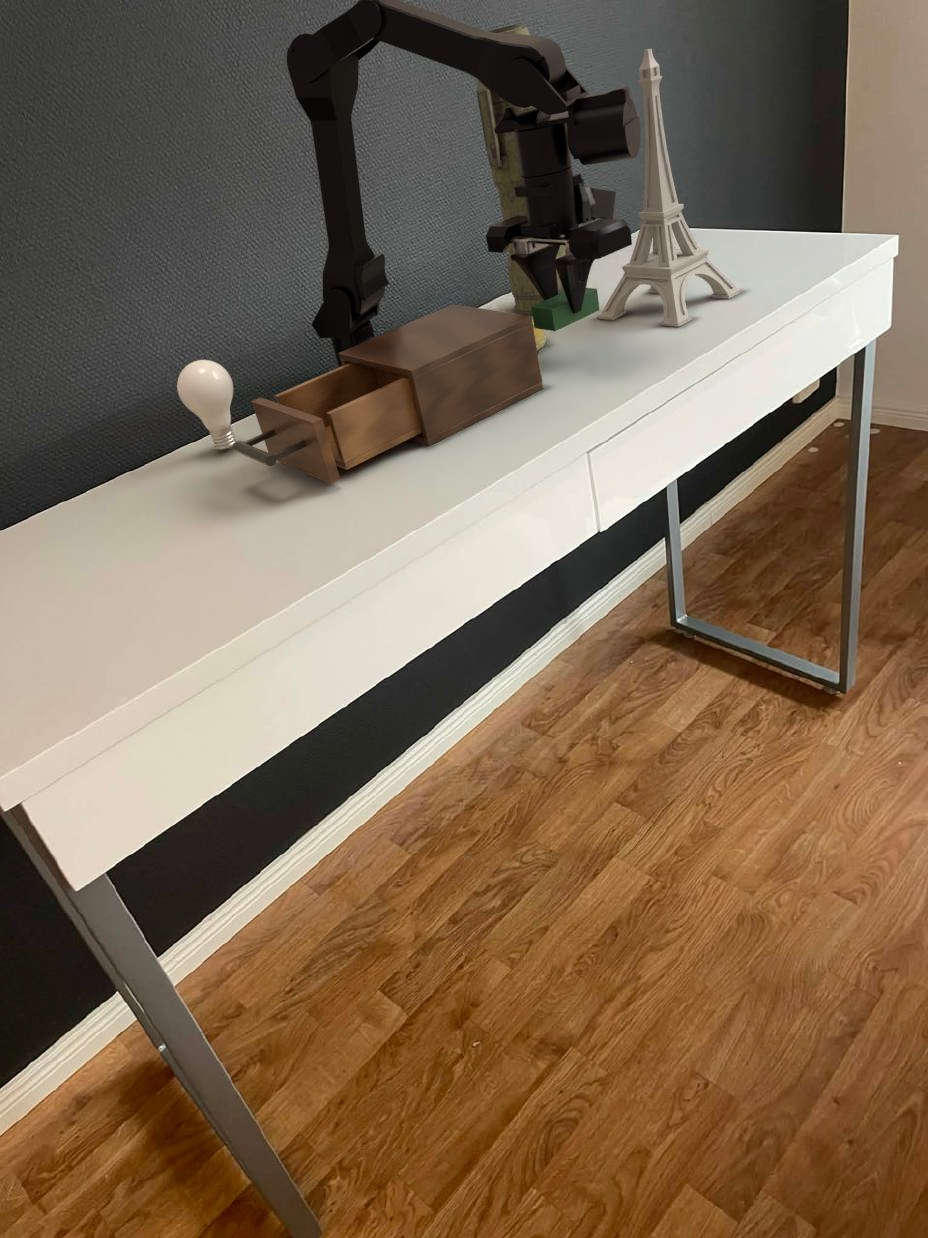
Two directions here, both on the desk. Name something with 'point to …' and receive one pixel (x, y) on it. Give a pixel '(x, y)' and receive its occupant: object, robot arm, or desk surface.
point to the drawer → (334, 421)
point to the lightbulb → (209, 399)
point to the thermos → (509, 181)
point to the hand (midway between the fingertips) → (565, 310)
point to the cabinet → (457, 365)
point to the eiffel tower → (663, 226)
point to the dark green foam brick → (563, 311)
